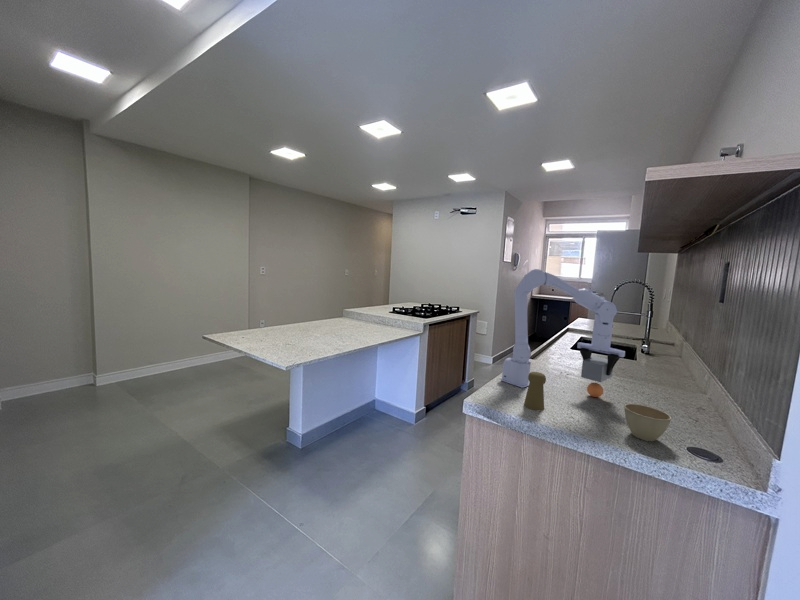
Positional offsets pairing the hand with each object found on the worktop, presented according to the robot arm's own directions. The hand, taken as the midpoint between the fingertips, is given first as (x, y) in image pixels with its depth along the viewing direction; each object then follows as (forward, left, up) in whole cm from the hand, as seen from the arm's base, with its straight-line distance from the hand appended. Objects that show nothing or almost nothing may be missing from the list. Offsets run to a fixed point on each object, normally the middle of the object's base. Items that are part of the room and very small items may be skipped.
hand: (597, 372), depth 115 cm
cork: (-7, -29, -9) cm, 31 cm away
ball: (0, 0, -6) cm, 7 cm away
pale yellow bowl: (+20, -21, -9) cm, 30 cm away
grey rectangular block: (0, 0, -2) cm, 2 cm away
